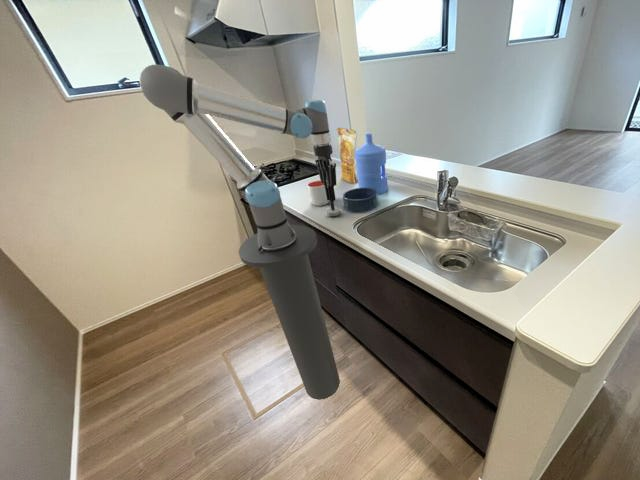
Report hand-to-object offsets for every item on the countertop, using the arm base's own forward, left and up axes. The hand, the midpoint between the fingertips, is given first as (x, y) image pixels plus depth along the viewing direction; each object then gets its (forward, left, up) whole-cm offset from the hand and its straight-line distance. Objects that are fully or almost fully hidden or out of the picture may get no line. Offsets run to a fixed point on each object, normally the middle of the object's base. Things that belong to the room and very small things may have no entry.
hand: (331, 200), depth 134 cm
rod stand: (0, 0, -6) cm, 6 cm away
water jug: (+32, +10, -8) cm, 35 cm away
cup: (+4, +19, -8) cm, 21 cm away
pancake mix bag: (+36, +37, -8) cm, 52 cm away
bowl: (+15, -1, -7) cm, 17 cm away
